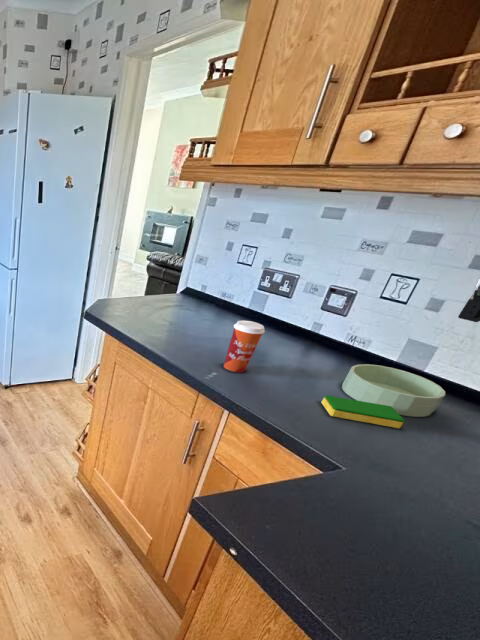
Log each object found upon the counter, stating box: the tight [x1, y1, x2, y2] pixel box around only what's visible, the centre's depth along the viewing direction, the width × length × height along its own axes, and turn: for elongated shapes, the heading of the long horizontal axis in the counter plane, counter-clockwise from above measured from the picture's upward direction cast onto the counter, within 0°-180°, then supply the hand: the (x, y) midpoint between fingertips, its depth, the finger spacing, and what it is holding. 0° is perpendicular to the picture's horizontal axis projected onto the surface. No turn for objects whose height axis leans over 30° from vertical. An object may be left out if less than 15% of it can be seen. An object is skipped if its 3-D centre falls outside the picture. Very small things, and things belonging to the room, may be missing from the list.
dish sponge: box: [320, 394, 406, 429], centre depth 102 cm, size 7×14×2 cm, turn 69°
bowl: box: [341, 363, 446, 418], centre depth 109 cm, size 18×18×6 cm
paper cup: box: [223, 320, 266, 373], centre depth 121 cm, size 8×8×14 cm
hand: (478, 317), depth 89 cm, fingers open, 9 cm apart
